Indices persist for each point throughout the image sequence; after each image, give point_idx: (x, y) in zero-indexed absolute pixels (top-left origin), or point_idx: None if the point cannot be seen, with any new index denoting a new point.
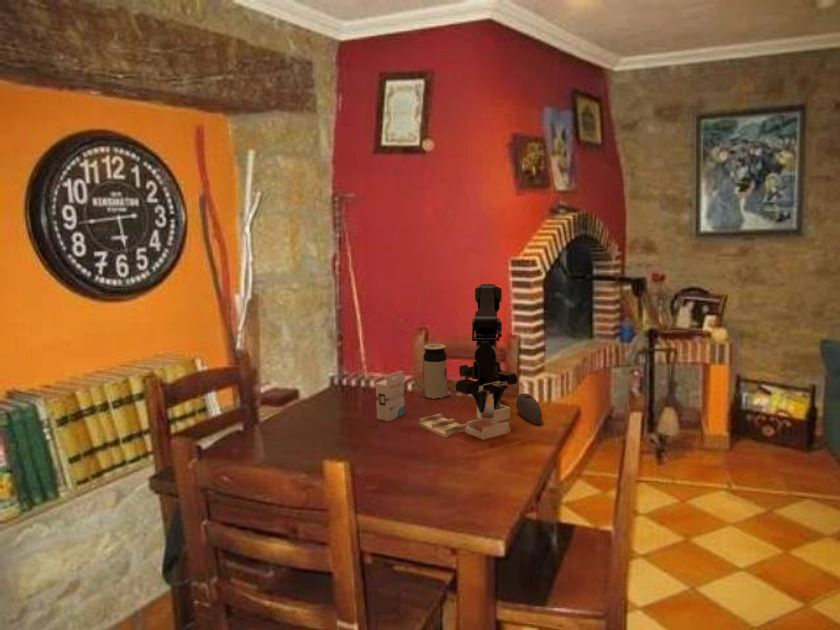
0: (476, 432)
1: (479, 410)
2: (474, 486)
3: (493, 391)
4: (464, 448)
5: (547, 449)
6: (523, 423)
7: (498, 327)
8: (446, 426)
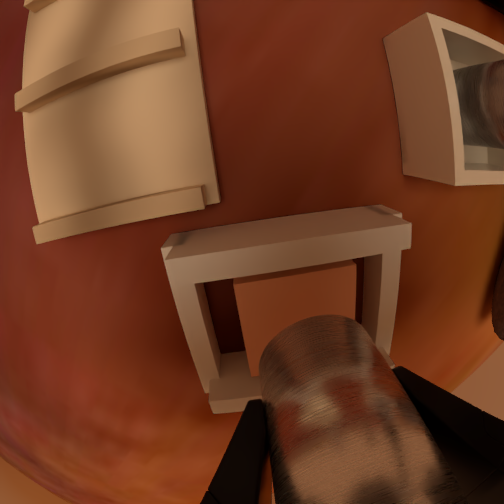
0: (190, 347)
1: (243, 416)
2: (93, 486)
3: (476, 501)
4: (102, 383)
5: None
6: (490, 245)
7: None
8: (98, 103)
